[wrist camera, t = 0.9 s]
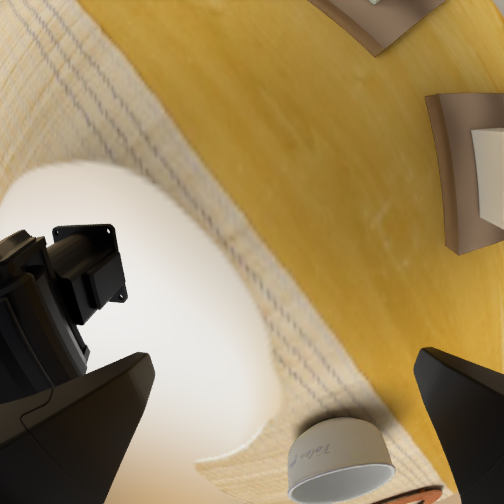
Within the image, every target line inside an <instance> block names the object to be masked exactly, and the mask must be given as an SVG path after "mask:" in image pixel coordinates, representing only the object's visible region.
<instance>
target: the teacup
mask: <svg viewBox="0 0 504 504" xmlns="http://www.w3.org/2000/svg"><path fill="white" fill-rule="evenodd" d="M395 472H396V471H395V467H394V466H393V465H392V462H391V458H390V455H389V452H388V449H387V447H386V444H385V441H384V439H383V437H382V435H381V433H380V431H379V430H378V429H377V427H375V426H374V425H373V424H371V423H369V422H367V421H364V420H360V419H355V418H349V417H340V418H333V419H328V420H325V421H322V422H320V423H317V424H316V425H314V426H312V427H311V428H309V429H308V430H307V431H306V432H304V433H303V434H302V435H300V436H299V437H298V438H297V439H296V440H295V441H294V443H293V444H292V446H291V448H290V451H289V455H288V484H289V490H288V498H289V499H290V500H292V501H294V502H296V503H300V504H333V503H339V502H344V501H348V500H352V499H355V498H359V497H361V496H364V495H366V494H368V493H371V492H373V491H375V490H376V489H378V488H380V487H382V486H383V485H385V484H386V483H387V482H389V481H390V480H391V479H392V478H393V476H394V474H395Z"/></svg>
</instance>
